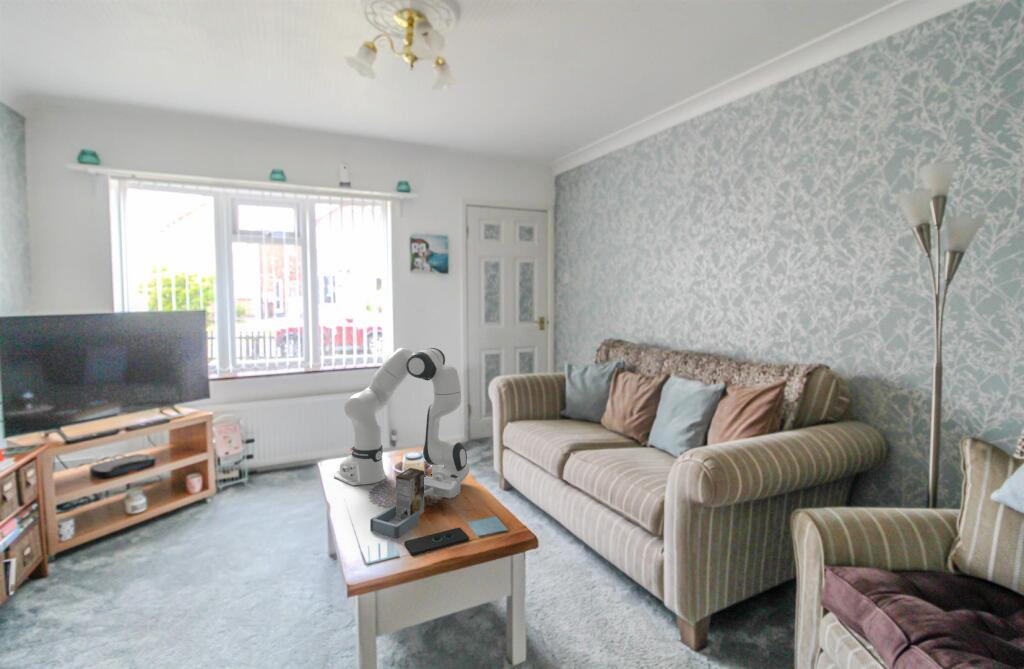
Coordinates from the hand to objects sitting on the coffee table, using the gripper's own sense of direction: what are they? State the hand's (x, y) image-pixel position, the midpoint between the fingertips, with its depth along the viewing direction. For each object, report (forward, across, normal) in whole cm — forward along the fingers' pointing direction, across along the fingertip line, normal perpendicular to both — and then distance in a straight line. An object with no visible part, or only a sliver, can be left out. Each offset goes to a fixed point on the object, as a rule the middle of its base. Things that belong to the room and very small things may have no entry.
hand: (421, 493), depth 183 cm
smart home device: (+17, +19, +7) cm, 26 cm away
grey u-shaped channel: (+14, 0, +6) cm, 16 cm away
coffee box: (+6, -1, +6) cm, 9 cm away
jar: (-33, -18, +6) cm, 38 cm away
